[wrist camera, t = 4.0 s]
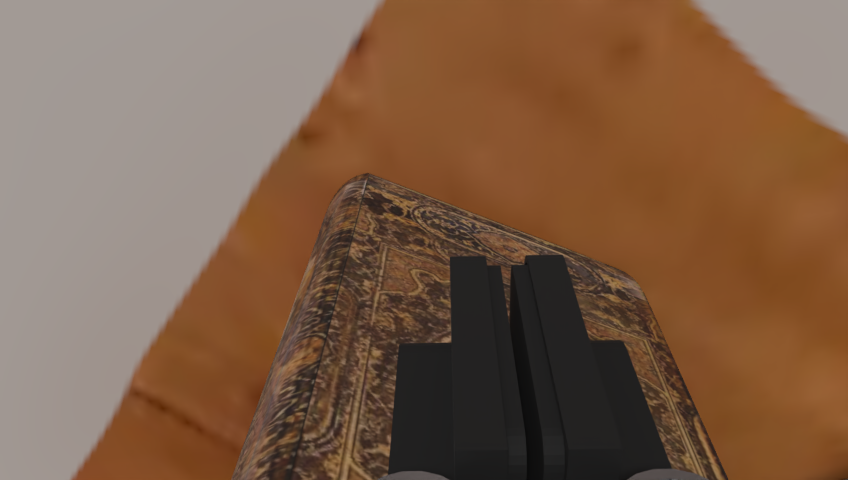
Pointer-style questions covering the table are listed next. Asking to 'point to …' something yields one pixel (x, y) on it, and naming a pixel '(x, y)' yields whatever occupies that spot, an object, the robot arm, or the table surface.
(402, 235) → the book
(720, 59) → the table surface
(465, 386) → the robot arm
